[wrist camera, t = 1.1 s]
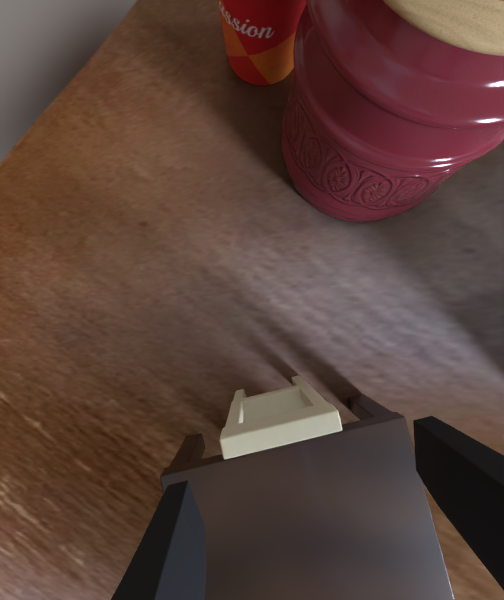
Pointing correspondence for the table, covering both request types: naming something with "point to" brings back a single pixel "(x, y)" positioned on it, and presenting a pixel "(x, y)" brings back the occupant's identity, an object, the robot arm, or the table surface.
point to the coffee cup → (260, 37)
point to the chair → (277, 419)
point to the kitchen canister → (391, 100)
